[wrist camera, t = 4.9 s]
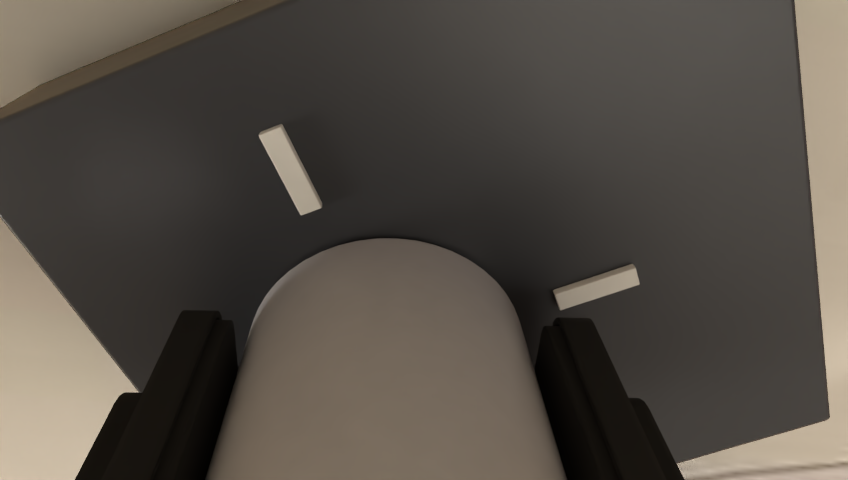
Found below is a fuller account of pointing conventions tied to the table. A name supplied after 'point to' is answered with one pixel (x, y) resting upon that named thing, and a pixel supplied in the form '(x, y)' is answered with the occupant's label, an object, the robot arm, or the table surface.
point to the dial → (386, 375)
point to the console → (454, 181)
